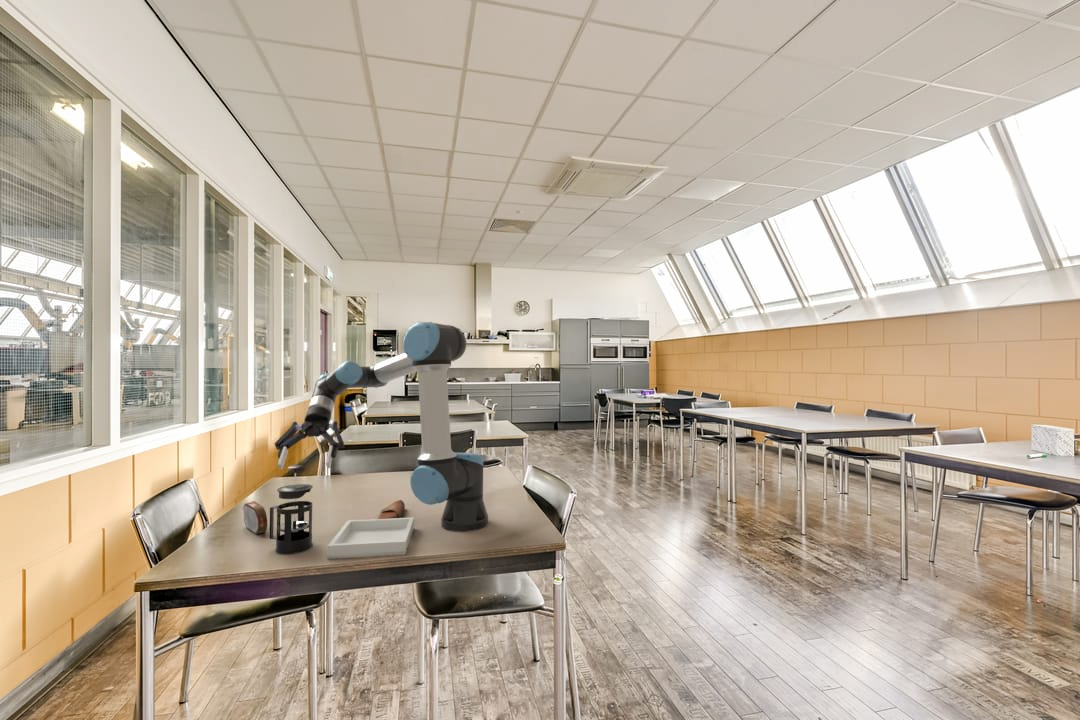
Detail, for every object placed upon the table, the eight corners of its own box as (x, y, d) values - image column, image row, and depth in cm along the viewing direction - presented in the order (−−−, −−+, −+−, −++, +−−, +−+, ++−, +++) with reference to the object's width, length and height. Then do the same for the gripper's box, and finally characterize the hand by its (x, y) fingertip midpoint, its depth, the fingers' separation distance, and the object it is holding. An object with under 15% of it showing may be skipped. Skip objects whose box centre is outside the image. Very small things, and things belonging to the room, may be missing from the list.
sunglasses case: (380, 510, 172) (390, 493, 172) (397, 519, 173) (407, 502, 174) (373, 525, 154) (385, 507, 155) (393, 535, 155) (404, 517, 156)
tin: (268, 535, 145) (268, 507, 146) (256, 537, 143) (257, 509, 143) (252, 524, 156) (252, 498, 156) (241, 526, 153) (241, 500, 154)
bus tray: (413, 528, 151) (413, 517, 151) (405, 554, 130) (405, 541, 130) (347, 531, 148) (347, 520, 148) (327, 559, 126) (327, 545, 126)
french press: (320, 541, 140) (321, 462, 140) (307, 553, 130) (308, 468, 131) (278, 542, 139) (279, 463, 139) (262, 555, 129) (263, 469, 130)
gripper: (360, 419, 165) (349, 472, 149) (282, 420, 161) (263, 474, 145) (356, 404, 159) (345, 458, 144) (276, 405, 156) (255, 460, 140)
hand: (304, 466), depth 145 cm, fingers open, 13 cm apart
